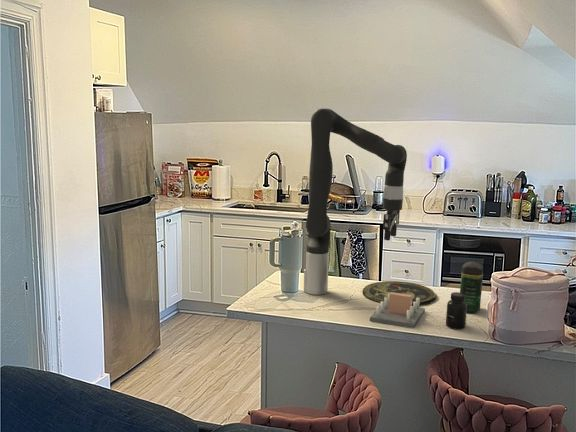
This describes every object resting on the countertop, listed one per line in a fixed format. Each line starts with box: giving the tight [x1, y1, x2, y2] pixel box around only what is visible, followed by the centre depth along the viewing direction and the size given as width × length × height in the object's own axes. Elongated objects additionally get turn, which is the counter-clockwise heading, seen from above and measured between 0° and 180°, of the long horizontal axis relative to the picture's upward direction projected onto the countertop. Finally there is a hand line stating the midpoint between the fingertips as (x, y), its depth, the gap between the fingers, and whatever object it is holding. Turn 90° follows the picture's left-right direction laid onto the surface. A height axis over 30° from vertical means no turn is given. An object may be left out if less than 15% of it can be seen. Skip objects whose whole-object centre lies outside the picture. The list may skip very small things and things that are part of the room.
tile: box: [389, 292, 413, 315], centre depth 221 cm, size 8×2×7 cm, turn 66°
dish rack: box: [369, 294, 426, 329], centre depth 222 cm, size 16×19×6 cm
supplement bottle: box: [445, 291, 467, 330], centre depth 212 cm, size 7×7×12 cm
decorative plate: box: [362, 280, 437, 307], centre depth 248 cm, size 30×2×30 cm
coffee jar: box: [459, 261, 484, 314], centre depth 229 cm, size 10×8×19 cm
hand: (390, 238), depth 234 cm, fingers open, 8 cm apart
